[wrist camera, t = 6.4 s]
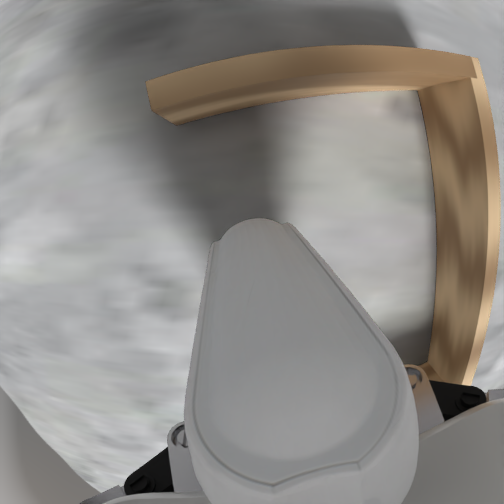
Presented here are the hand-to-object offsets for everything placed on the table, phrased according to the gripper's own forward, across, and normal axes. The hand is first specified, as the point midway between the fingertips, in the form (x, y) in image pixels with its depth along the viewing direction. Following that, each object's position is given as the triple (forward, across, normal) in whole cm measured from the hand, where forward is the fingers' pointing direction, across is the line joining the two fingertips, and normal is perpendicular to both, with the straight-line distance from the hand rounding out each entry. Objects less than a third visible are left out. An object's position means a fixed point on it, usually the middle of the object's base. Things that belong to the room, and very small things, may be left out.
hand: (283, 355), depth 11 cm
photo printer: (+4, 0, 0) cm, 4 cm away
